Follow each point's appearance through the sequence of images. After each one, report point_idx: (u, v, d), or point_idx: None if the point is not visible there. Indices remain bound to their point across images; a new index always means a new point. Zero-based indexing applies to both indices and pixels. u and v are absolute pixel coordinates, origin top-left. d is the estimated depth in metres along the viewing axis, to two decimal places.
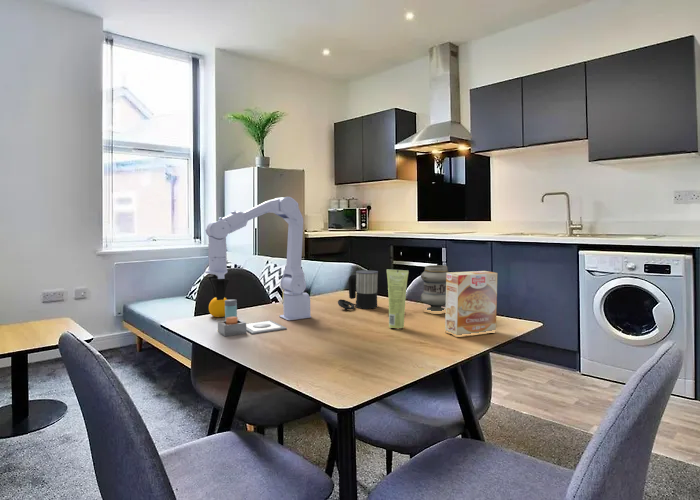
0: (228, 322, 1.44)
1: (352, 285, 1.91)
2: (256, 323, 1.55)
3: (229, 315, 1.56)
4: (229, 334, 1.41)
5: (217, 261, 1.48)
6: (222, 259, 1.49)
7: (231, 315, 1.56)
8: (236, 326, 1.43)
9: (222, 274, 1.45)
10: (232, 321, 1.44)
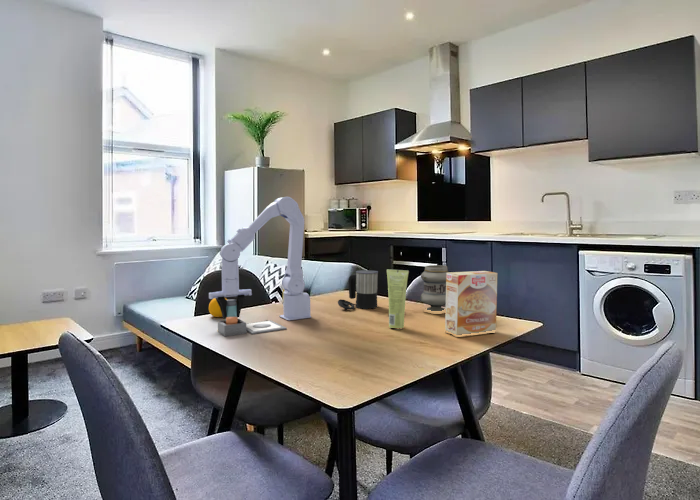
0: (228, 322, 1.44)
1: (352, 285, 1.91)
2: (256, 323, 1.55)
3: (229, 315, 1.56)
4: (229, 334, 1.41)
5: (222, 282, 1.56)
6: (224, 281, 1.55)
7: (231, 315, 1.56)
8: (236, 326, 1.43)
9: (209, 294, 1.54)
10: (232, 321, 1.44)
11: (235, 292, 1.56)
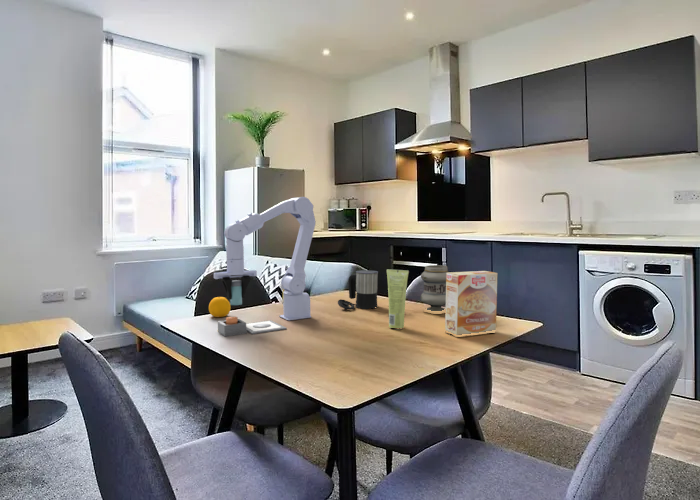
0: (228, 322, 1.44)
1: (352, 285, 1.90)
2: (256, 323, 1.55)
3: (234, 296, 1.55)
4: (229, 334, 1.41)
5: None
6: (228, 261, 1.53)
7: (236, 296, 1.55)
8: (236, 326, 1.43)
9: (214, 274, 1.52)
10: (232, 321, 1.44)
11: (240, 272, 1.54)
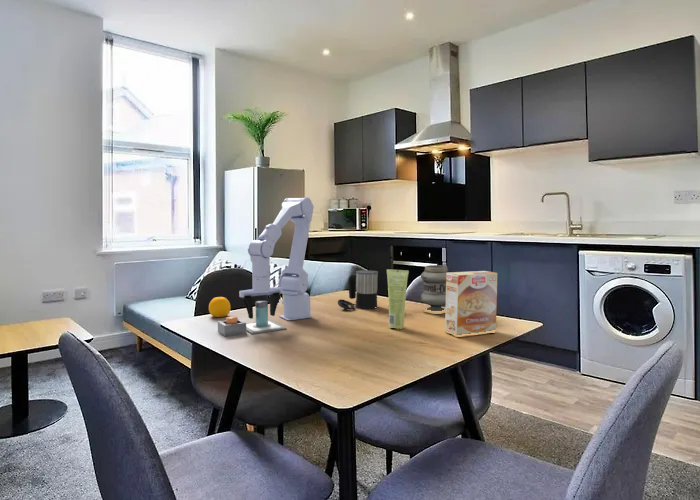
0: (228, 322, 1.44)
1: (352, 285, 1.90)
2: None
3: (260, 317, 1.50)
4: (229, 334, 1.41)
5: (252, 280, 1.50)
6: (255, 278, 1.48)
7: (262, 317, 1.50)
8: (236, 326, 1.43)
9: (240, 293, 1.47)
10: (232, 321, 1.44)
11: (266, 290, 1.49)
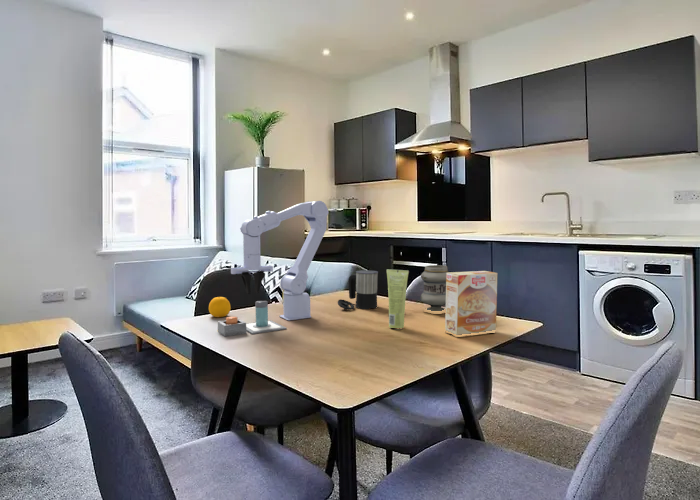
0: (228, 322, 1.44)
1: (352, 285, 1.90)
2: None
3: (260, 317, 1.50)
4: (229, 334, 1.41)
5: None
6: (246, 256, 1.55)
7: (262, 317, 1.50)
8: (236, 326, 1.43)
9: (232, 269, 1.53)
10: (232, 321, 1.44)
11: (257, 268, 1.55)
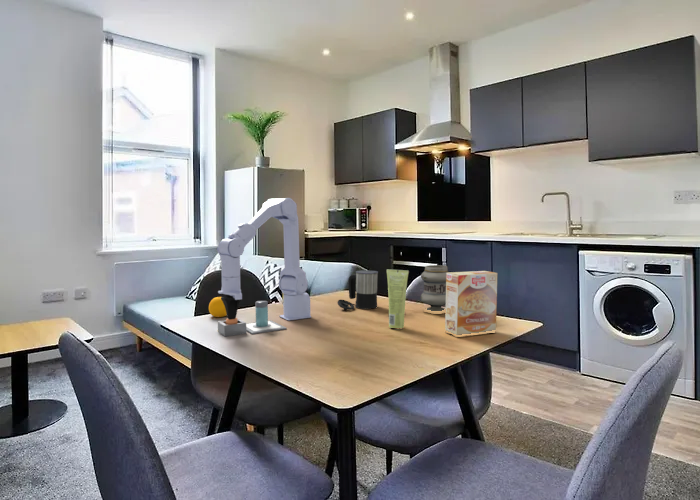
0: (228, 323, 1.44)
1: (352, 285, 1.90)
2: None
3: (260, 317, 1.50)
4: (229, 334, 1.41)
5: (232, 281, 1.42)
6: (237, 278, 1.43)
7: (262, 317, 1.50)
8: (236, 326, 1.43)
9: (240, 294, 1.39)
10: (232, 322, 1.44)
11: None
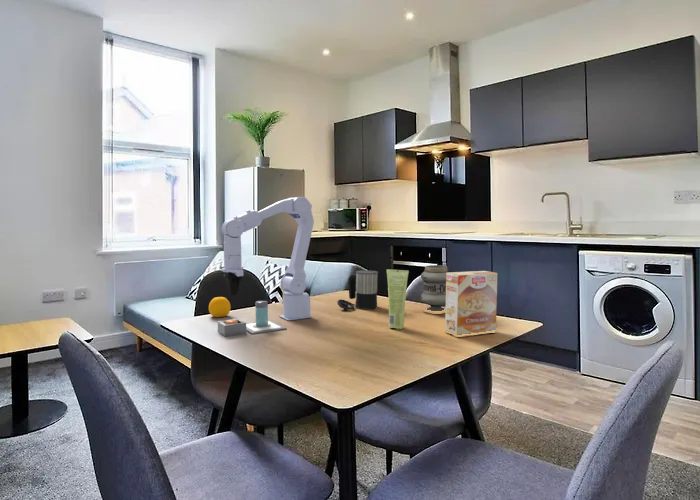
0: None
1: (352, 285, 1.90)
2: None
3: (260, 317, 1.50)
4: (229, 334, 1.41)
5: (234, 259, 1.51)
6: (238, 257, 1.52)
7: (262, 317, 1.50)
8: (236, 326, 1.43)
9: (241, 271, 1.48)
10: None
11: None
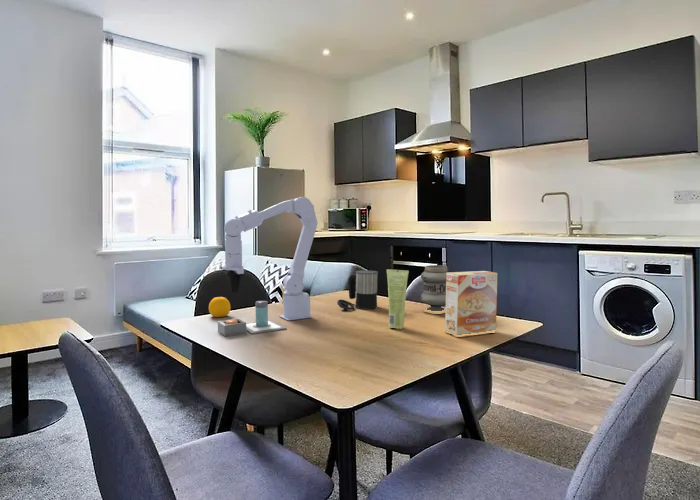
0: None
1: (352, 285, 1.90)
2: None
3: (260, 317, 1.50)
4: (229, 334, 1.41)
5: (235, 257, 1.57)
6: (239, 255, 1.58)
7: (262, 317, 1.50)
8: (236, 326, 1.43)
9: (242, 269, 1.54)
10: None
11: None
